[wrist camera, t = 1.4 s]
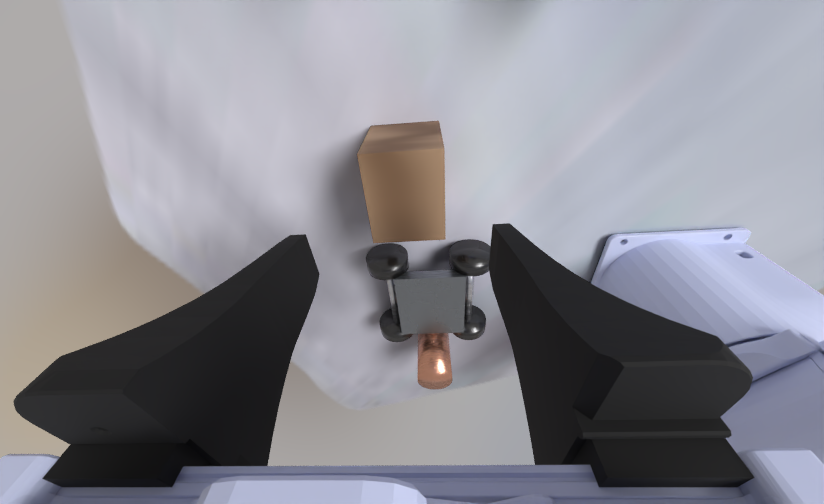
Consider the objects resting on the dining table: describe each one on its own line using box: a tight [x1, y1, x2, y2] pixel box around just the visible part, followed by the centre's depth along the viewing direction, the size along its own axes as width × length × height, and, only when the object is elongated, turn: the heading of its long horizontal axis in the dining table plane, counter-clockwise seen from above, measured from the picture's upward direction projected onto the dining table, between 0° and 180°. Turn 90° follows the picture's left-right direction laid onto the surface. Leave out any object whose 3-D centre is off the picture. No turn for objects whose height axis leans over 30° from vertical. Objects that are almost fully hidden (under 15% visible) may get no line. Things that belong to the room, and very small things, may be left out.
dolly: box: [366, 240, 491, 342], centre depth 24 cm, size 9×8×3 cm
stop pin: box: [418, 333, 452, 389], centre depth 25 cm, size 3×8×5 cm, turn 4°
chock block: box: [357, 121, 445, 243], centre depth 17 cm, size 4×5×5 cm
